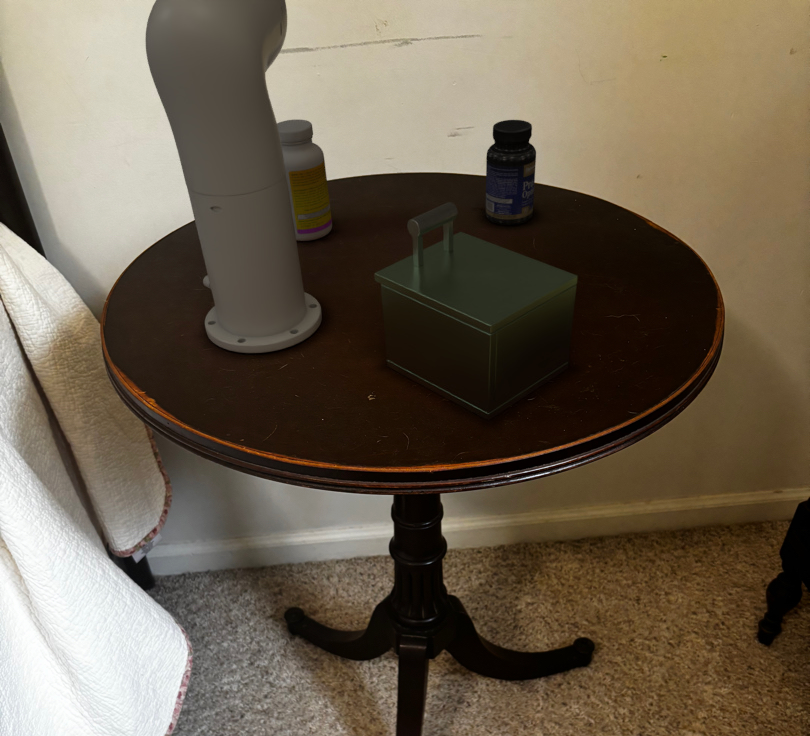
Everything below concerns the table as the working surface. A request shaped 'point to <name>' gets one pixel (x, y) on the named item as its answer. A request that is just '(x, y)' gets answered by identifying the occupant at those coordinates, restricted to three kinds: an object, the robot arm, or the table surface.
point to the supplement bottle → (305, 180)
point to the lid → (471, 275)
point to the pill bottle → (510, 173)
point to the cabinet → (477, 351)
